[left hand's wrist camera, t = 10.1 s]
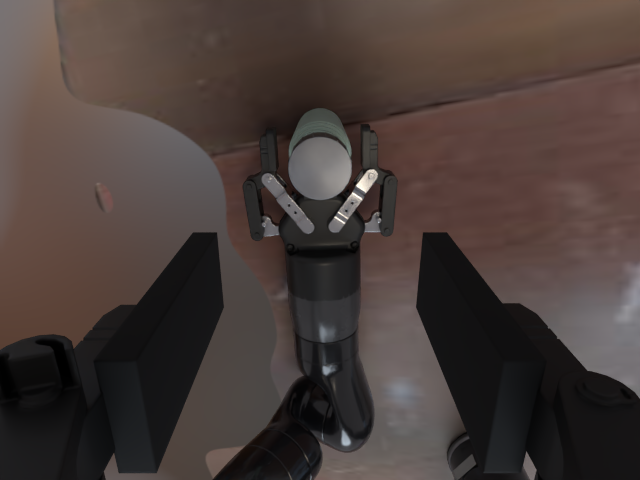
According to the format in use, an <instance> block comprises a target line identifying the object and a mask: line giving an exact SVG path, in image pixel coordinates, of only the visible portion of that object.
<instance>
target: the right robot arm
mask: <svg viewBox="0 0 640 480" xmlns="http://www.w3.org/2000/svg"><path fill="white" fill-rule="evenodd" d="M360 137H361V165H362V170H361V171H360V172H359V174H358V175H357V176H356V178H355V179H354V180H353V181H352V182H351V183H350V184H349V185H348V187H347V188H346V189H345V191H344V192H343V193H342V192H340V193H339V194H338V195H336V196H334V197H332V198H329V199H325V200H315V199H311V198H308V197H306V196H304V195H302V194H301V193H300V194H299V195H298V194H297V193H296V191H295V190H294V189H293V188H292V187H291V186H290V185H289V184H288V183H286V182H285V180H284V179H283V178H282V177H281V176H280V175H279V173H278V172H277V169H278V167H279V163H278V150H277V136H276V127H270V128H267V129H266V134H263V135H262V136H261V139H260V153H261V165H262V171H261V172H259V173H257V174H255V175H250V176H248V178H247V179H246V181H245V182H244V184H243V192H244V198H245V204H246V210H247V216H248V221H249V227H250V233H251V237H252V239H253V240H255V241H259V240H261V239H262V238H263V236H274V235H280V236H281V238H282V239H283V241H284V244H285V256H286V269H287V283H288V296H289V308H290V314H291V318H292V322H293V332H294V346H295V357H296V363H297V366H298V368H299V370H300V371H301V373H302V374H303V375H304V376H301V377H299V378H298V379H296V380H295V381H294V382H293V383H292V385H291V386H290V388H289V390H288V392H287V393H286V395H285V397H284V399H283V401H282V403H281V404H280V406H279V408H278V409H277V411H276V413H275V414H274V416H273V417H272V419H271V421H270V422H269V424H268V425H267V427H266V428H265V429H264V430H263V431H261V432H260V433H259V434H258V435H257V436H256V437H255V438H254V439H253V440H252V441H250V442H249V443H248V444H247V445H246V446H245V447H244V448H243V449H242V450H241V451H240V452H238V453H237V454H236V455H235V456H234V457H233V458H232V459H231V460H230V461H229V462H228V463H227V464H226V465H225V466H224V468H223V469H222V470H221V471H220V472H219V473H218V474H217V475H216V476H215V477H214V479H213V480H314V479H315V478H316V476H317V475H318V473H319V471H320V469H321V466H322V460H323V456H322V450H321V447H320V444H319V442H320V443H322V444H325V445H327V446H329V447H331V448H333V449H335V450H338V451H340V452H345V453H351V452H354V451H357V450H358V449H360V448H361V447H362V446H363V445H364V444H365V443H366V442H367V441H368V439H369V437H370V435H371V433H372V429H373V425H374V403H373V398H372V395H371V391H370V388H369V385H368V382H367V379H366V376H365V373H364V370H363V366H362V363H361V360H360V357H359V354H358V319H359V313H360V240H361V237H362V235H363V233H364V232H381V234H382V235H383V236H386V237H387V236H390V235H391V234H392V233H393V226H394V215H395V204H396V192H397V178H396V177H395V176H394V174H393V173H392V171H390V170H384V169H381V168H379V167H378V165H377V151H378V150H377V149H378V145H377V144H378V138H377V135H376V133H375V131H374V130H370V125H369V124H361V127H360ZM374 183H378V184H380V196H379V209H376V210H374V211H373V212H372V213H371V217H370V218H369V219H367V220H364V219H363V217H362V216H361V215H360V214H359V212H358V211H357V210H356V208H357V207H358V205H359V204H360V203H361V201H362V200H363V199H364V197H365V194H366V193H367V191H368V190H369V189H370V187H371V186H372V185H373V184H374ZM265 186H266V188H267V189H268V190H269V191H270V192H271V193H272V194H273V195H274V197H275V198H276V200H277V202H278V203H279V204H280V205H281V206H282V208H283V209H284V210H285V211H286V213H285V214H284V216H283V217H282V219H281V220H280V223H275V222H274V221H273V220H272V217H271V216H270V215H269V214H266V213H265V214H264V209H263V202H262V196H261V188H263V187H265ZM352 202H353V203H352ZM288 204H290V205H288ZM447 459H448V464H449V467H450V469H451V471H452V474H453V477H454V480H530V479H529V477H528V475H527V473H526V471H525V469H524V467H522V472H521V473H483V471H482V468H481V466H480V463H479V461H478V458H477V456H476V453H475V451H474V448H473V446H472V444H471V441H470V439H469V436H468V434H467V433H466V434H464V435H462V436H460V437H459V438H458V439H457V440H455V441H454V442H453V444H452V445H451V447H450V448H449V451H448V455H447Z"/></svg>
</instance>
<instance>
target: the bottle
mask: <svg viewBox="0 0 640 480" xmlns="http://www.w3.org/2000/svg"><path fill="white" fill-rule="evenodd" d="M313 132H314V133H315V132H326V133H329V134H332V135H334V136H336V137H338V139H340V140H341V141H342V142H343V144H344V145H346V147H347V150H348V153H349V156H350V157H351V146H350V142H349V139H348V137H347V134H346V132H345V130H344V127H343V125H342V122H341V120H340V119H339V117H338V116H337V115H336V114H335V113H334V112H332V111H330V110H328V109H324V108H316V109H312V110H310V111H308V112H306V113H305V114H304V115H303V116H302V117H301V119H300V120H299V122H298V125H297V127H296V130H295V132H294V134H293V137H292V139H291V142H290V145H289V157H290V156H291V153H292V150H293V147H294V145H296V144H297V142H298V141H299V140H300V139H302V137H304V136H306V135H308V134H311V133H313Z"/></svg>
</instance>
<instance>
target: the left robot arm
mask: <svg viewBox="0 0 640 480" xmlns="http://www.w3.org/2000/svg"><path fill="white" fill-rule="evenodd" d="M223 308H224V304H223V293H222V283H221V272H220V261H219V250H218V239H217V233H192V235H191V236H190V237H189V239H188V240H187V241H186V242H185V244H184V245H183V246H182V247H181V249H180V250H179V251H178V253H177V254H176V255H175V256H174V258H173V259H172V260H171V262H170V263H169V264H168V265H167V267H166V268H165V269H164V271H163V272H162V273H161V274H160V276H159V277H158V278H157V279H156V281H155V282H154V283H153V285H152V286H151V287H150V288H149V290H148V291H147V292H146V294H145V295H144V296H143V297H142V299H141V300H140V301H139V303H138V304H137V305H120V306H118V307H116V308H115V309H113V310H112V311H110V312H108V313H107V314H105V315H103V317H102V318H101V319H100V320H99V321H98V322H97V323H96V325H95V326H94V327H93V330H90V331H89V332H88V334H87V335H86V336H85V337H84V340H83V341H81V342H80V343H79V344H78V345H77V346H76V347H75V348H74V349H73V345H72V341H71V340H69V339H68V338H67V337H65V336H60V335H54V334H52V335H39V336H35V337H31V338H27V339H23V340H20V341H18V342H15V343H13V344H10V345H8V346H6V347H4V348H3V349H1V350H0V480H106V479H105V475H104V470H105V468H106V466H107V464H108V462H109V461H110V459H111V457H112V455H113V453H114V454H115V458H116V463H117V467H118V472H119V473H157V471H158V468H159V466H160V463H161V461H162V458H163V456H164V453H165V451H166V448H167V446H168V444H169V441H170V438H171V436H172V434H173V431H174V429H175V426H176V424H177V421H178V419H179V416H180V414H181V412H182V409H183V407H184V404H185V402H186V399H187V397H188V394H189V392H190V389H191V387H192V384H193V382H194V379H195V377H196V375H197V372H198V370H199V367H200V365H201V362H202V360H203V357H204V355H205V352H206V350H207V347H208V345H209V342H210V340H211V337H212V335H213V332H214V330H215V328H216V325H217V323H218V320H219V318H220V315H221V313H222V310H223ZM416 308H417V310H418V313H419V315H420V318H421V320H422V323H423V325H424V328H425V330H426V333H427V335H428V338H429V340H430V342H431V345H432V347H433V350H434V352H435V355H436V357H437V360H438V362H439V365H440V367H441V370H442V372H443V375H444V377H445V379H446V382H447V384H448V387H449V389H450V392H451V394H452V397H453V399H454V402H455V404H456V407H457V409H458V412H459V414H460V416H461V419H462V421H463V424H464V426H465V429H466V431H467V434H468V436H469V439H470V441H471V444H472V446H473V448H474V451H475V453H476V456H477V458H478V461H479V463H480V466H481V468H482V471H483V473H521V472H522V467H523V463H524V458H525V454H526V451H527V453H528V455H529V456H530V458H531V460H532V462H533V464H534V466H535V468H536V469H537V471H536V475H535V479H534V480H640V399H639V397H638V396H637V395H636V393H635V392H634V391H632V390H631V389H629V388H628V387H627V386H625V385H624V384H623V383H621V382H619V381H617V380H615V379H613V378H611V377H608V376H606V375H602V374H599V373H595V372H592V371H587V370H586V369H585V368H584V366H583V365H582V364H581V363H580V362H579V361H578V360H577V359H576V357H575V356H574V355H573V354H572V353H571V352H570V351H569V350H568V348H567V347H566V346H565V345H564V344H563V343H562V342H561V341H560V339H557V336H556V335H555V334H554V333H553V332H552V330H551V329H548V326H547V325H546V324H545V323H544V321H543V320H542V319H541V318H540V317H539V316H538V315H537V314H536V313H534V312H533V311H531V310H529V309H528V308H526V307H524V306H523V305H521V304H520V303H501V301H500V300H499V299H498V297H497V296H496V295H495V294H494V292H493V291H492V290H491V288H490V287H489V286H488V285H487V283H486V282H485V281H484V279H483V278H482V277H481V276H480V274H479V273H478V272H477V271H476V269H475V268H474V267H473V265H472V264H471V263H470V262H469V260H468V259H467V258H466V256H465V255H464V254H463V253H462V251H461V250H460V249H459V247H458V246H457V245H456V244H455V242H454V241H453V240H452V238H451V237H450V236H449V235H448V233H423V239H422V250H421V261H420V272H419V282H418V293H417V304H416Z"/></svg>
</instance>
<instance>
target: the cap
mask: <svg viewBox="0 0 640 480" xmlns="http://www.w3.org/2000/svg"><path fill="white" fill-rule="evenodd" d="M288 162H289V163H288V174H289V178H290V180H291V182H292V184H293V186H294V187H295V188H296V190H297V191H298V192H300V193H301V194H302V195H304V196H306V197H308V198H311V199H315V200H325V199H329V198H332V197H334V196H336V195H338V194H339V193H340V192H342V191H343V190H344V188H345V187H346V186H347V184H348V182H349V180H350V177H351V174H352V164H351V162H352V160H351V157H350V156H349V153H348V150H347V147H346V145H344V144H343V142H342V141H341V140H340V139H338V137H336V136H334V135H332V134H329V133H326V132H315V133H314V132H313V133H311V134H308V135H306V136H304V137H302V139H300V140H299V141H298V142H297V144H296V145H294V147H293V150H292V153H291V156H290V157H289V160H288Z"/></svg>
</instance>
